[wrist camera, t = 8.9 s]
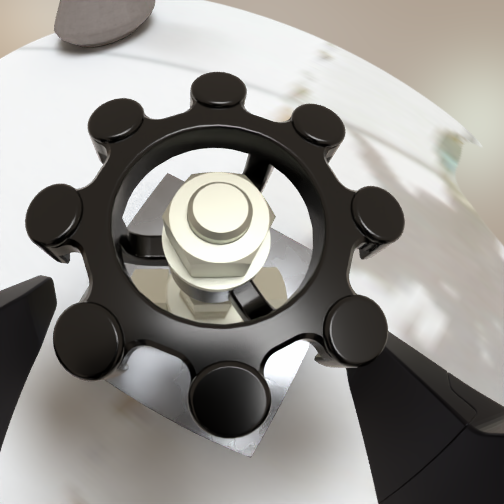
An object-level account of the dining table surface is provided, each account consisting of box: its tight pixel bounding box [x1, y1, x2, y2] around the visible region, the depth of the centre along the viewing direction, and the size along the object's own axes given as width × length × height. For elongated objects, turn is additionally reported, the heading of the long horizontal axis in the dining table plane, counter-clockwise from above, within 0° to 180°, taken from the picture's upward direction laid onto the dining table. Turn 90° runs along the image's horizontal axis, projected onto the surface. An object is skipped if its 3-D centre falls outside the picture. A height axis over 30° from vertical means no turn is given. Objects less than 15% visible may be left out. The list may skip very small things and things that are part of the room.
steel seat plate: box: [80, 173, 312, 457], centre depth 16 cm, size 12×12×1 cm
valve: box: [25, 72, 405, 439], centre depth 10 cm, size 7×7×12 cm
